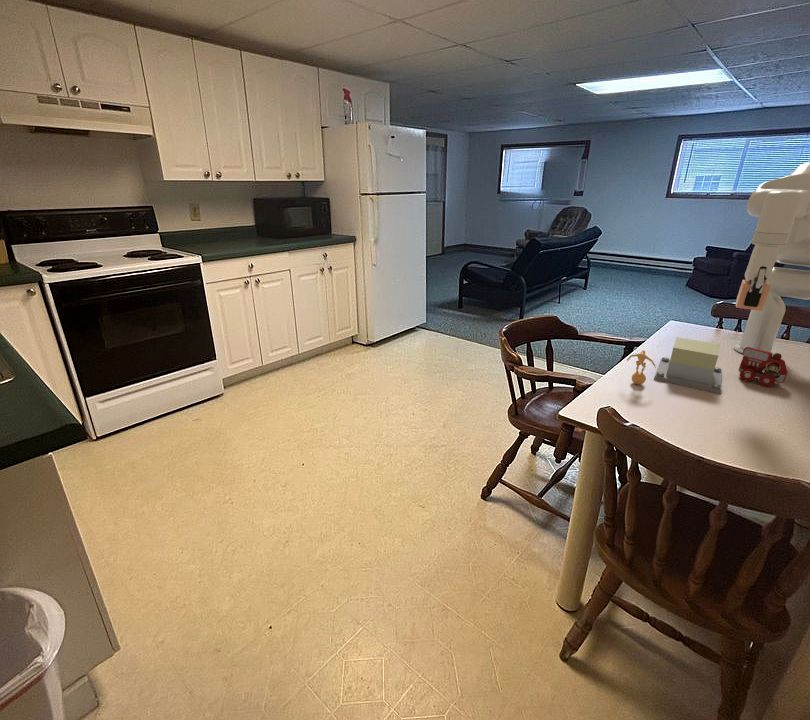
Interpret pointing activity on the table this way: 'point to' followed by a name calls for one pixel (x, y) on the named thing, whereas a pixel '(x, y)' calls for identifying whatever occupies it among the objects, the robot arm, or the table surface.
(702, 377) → the grey yellow stepped block
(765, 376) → the toy fire truck
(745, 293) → the terracotta brick
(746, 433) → the table surface
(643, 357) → the figurine
